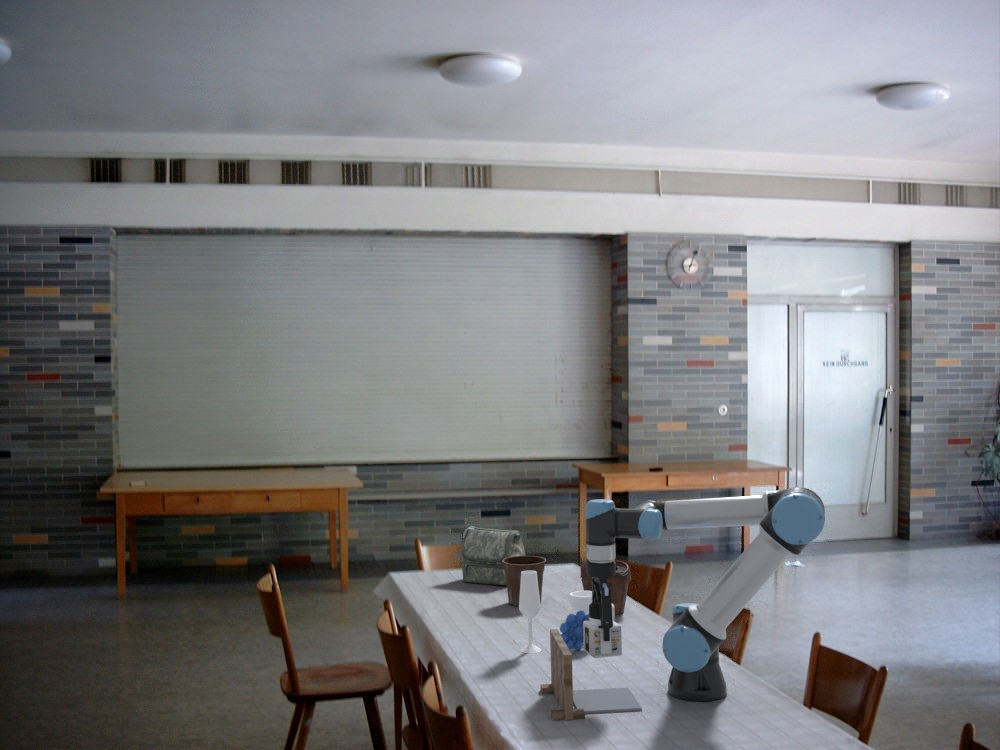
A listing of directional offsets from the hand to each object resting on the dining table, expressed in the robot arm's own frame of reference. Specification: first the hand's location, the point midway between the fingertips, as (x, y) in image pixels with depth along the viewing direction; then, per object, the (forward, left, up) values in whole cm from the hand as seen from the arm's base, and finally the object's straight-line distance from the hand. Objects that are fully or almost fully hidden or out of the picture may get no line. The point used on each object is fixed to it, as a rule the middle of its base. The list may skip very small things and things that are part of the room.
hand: (602, 648), depth 251 cm
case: (+58, -74, -14) cm, 95 cm away
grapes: (+36, -32, -14) cm, 50 cm away
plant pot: (+89, -65, -14) cm, 111 cm away
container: (0, 0, -2) cm, 2 cm away
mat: (0, 0, -14) cm, 14 cm away
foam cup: (+45, -47, -14) cm, 66 cm away
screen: (+7, +8, -14) cm, 18 cm away
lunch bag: (+126, -85, -14) cm, 152 cm away
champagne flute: (+46, -22, -14) cm, 53 cm away
